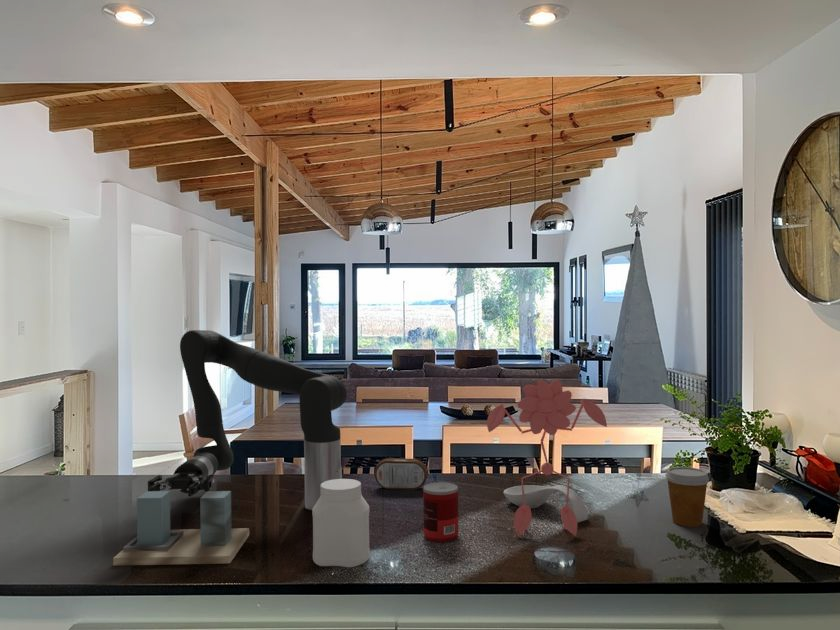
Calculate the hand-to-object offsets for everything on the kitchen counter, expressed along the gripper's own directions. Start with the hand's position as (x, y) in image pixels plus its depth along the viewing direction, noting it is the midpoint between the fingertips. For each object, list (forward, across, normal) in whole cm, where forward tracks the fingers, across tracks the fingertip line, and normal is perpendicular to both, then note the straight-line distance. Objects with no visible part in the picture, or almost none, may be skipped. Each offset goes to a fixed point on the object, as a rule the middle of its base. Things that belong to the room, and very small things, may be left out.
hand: (170, 492), depth 143 cm
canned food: (+5, +61, +10) cm, 62 cm away
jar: (+16, +40, +10) cm, 44 cm away
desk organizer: (+10, +6, +9) cm, 15 cm away
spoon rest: (-12, +88, +10) cm, 89 cm away
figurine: (+8, +84, +10) cm, 85 cm away
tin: (-33, +52, +10) cm, 63 cm away
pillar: (+9, 0, +8) cm, 12 cm away
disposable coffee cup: (-1, +119, +10) cm, 119 cm away
